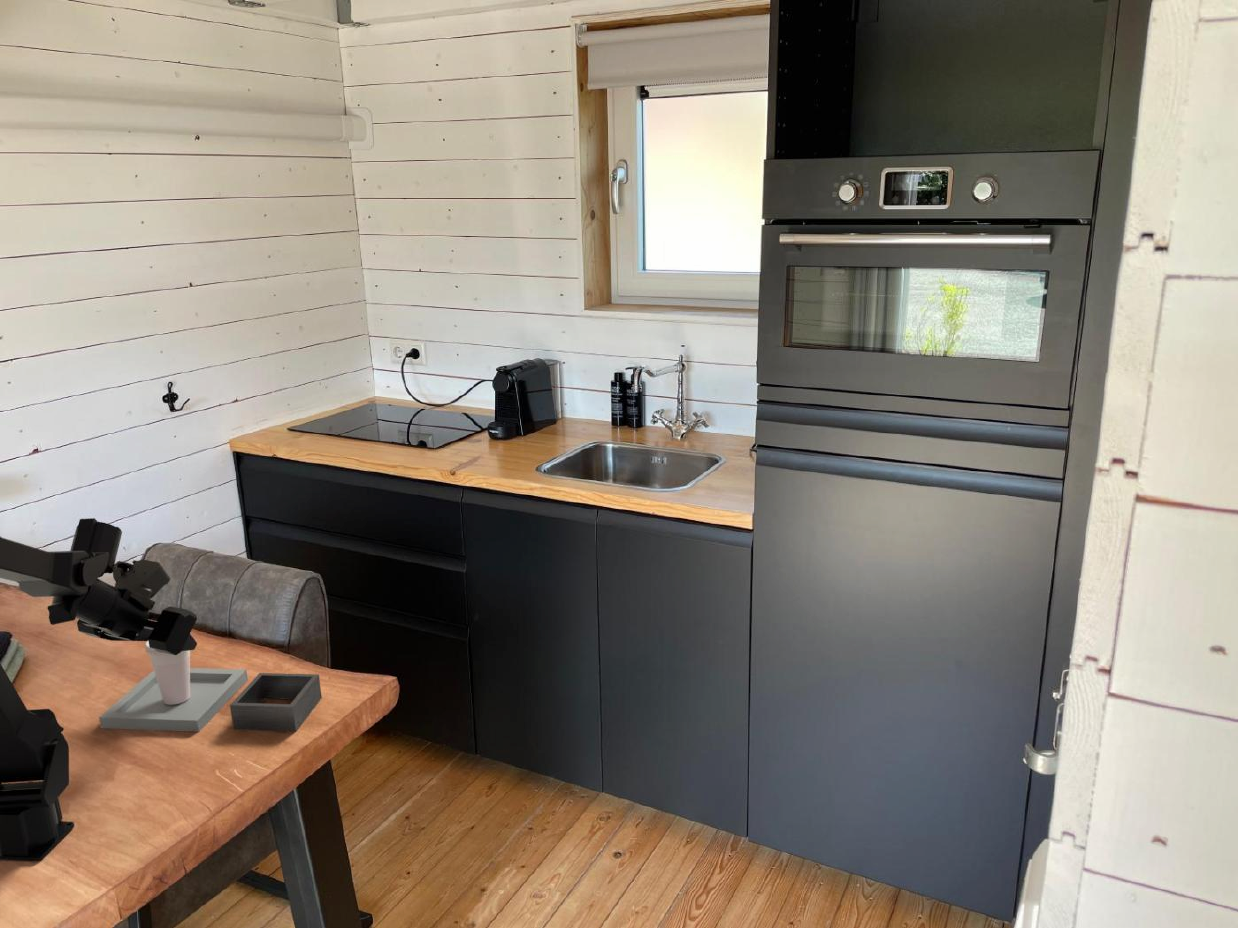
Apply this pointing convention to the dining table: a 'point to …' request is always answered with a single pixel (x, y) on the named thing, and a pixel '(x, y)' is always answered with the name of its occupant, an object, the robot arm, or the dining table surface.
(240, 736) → the dining table surface
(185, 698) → the smoothie
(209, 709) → the tray
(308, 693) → the cup holder
